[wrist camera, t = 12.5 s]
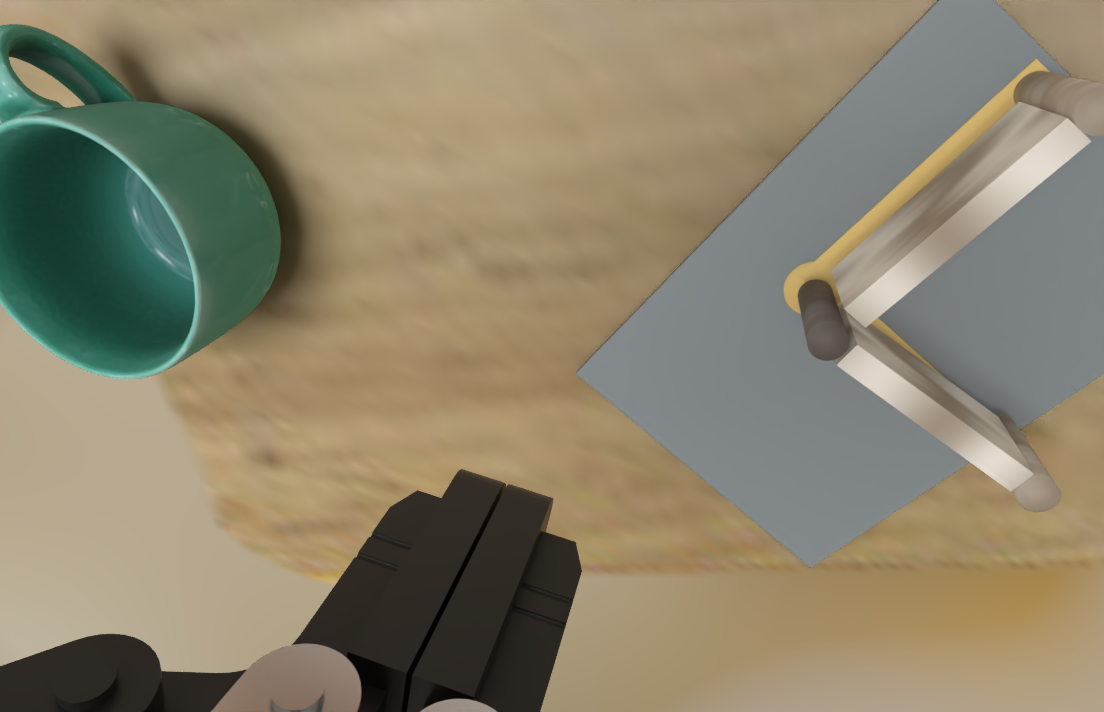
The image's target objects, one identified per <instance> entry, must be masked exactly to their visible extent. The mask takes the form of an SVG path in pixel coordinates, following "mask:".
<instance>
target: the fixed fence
mask: <svg viewBox="0 0 1104 712" xmlns="http://www.w3.org/2000/svg"><path fill="white" fill-rule="evenodd" d="M1013 99H1014V102H1015V104H1016V105H1015V106H1014V107H1013V108H1011V109H1010V110H1009V111H1008V112H1007V113H1006V114H1005V115H1004V116H1003V117H1001V118H1000V119H999V120H998V121H997V122H996V123H995V124H994V125H993V126H991V127H990V128H989V129H988V130H987V131H986V132H985V133H984V134H982V135H981V136H980V137H979V138H978V139H977V140H976V141H975V142H974V143H972V144H971V145H970V146H969V147H968V148H967V149H966V150H965V151H963V152H962V153H961V154H960V155H959V156H958V157H957V158H956V159H955V160H953V161H952V162H951V163H950V164H949V165H948V166H947V167H946V168H945V169H943V170H942V171H941V172H940V173H939V174H938V175H937V176H936V177H934V178H933V179H932V180H931V181H930V182H929V183H928V184H927V185H926V186H924V187H923V188H922V189H921V190H920V191H919V192H918V193H917V194H915V195H914V196H913V197H912V198H911V199H910V200H909V201H908V202H907V203H905V204H904V205H903V206H902V207H901V208H900V209H899V210H898V211H896V212H895V213H894V214H893V215H892V216H891V217H890V218H889V219H888V220H886V221H885V222H884V223H883V224H882V225H881V226H880V227H879V228H878V229H876V230H875V231H874V232H873V233H872V234H871V235H870V236H869V237H867V238H866V239H865V240H864V241H863V242H862V243H861V244H860V245H859V246H857V247H856V248H855V249H854V250H853V251H852V252H851V253H850V254H848V255H847V256H846V257H845V258H844V259H843V260H842V261H841V262H840V263H838V264H837V265H836V266H835V267H834V268H833V269H832V270H831V273H832V276H833V279H834V282H835V285H836V287H837V290H838V293H839V296H840V299H841V302H842V305H843V307H844V309H845V310H846V311H847V312H848V313H849V314H850V315H851V316H853V317H854V318H855V319H856V320H857V321H858V322H859V323H860V324H862V325H863V326H864V327H865V328H866V327H867V326H868V325H870V324H871V323H872V322H873V321H874V320H876V319H877V318H878V317H879V316H880V315H882V314H883V313H884V312H885V311H886V310H888V309H889V308H890V307H891V306H893V305H894V304H895V303H896V302H897V301H899V300H900V299H901V298H902V297H903V296H905V295H906V294H907V293H908V292H910V291H911V290H912V289H913V288H914V287H916V286H917V285H918V284H919V283H920V282H922V281H923V280H924V279H925V278H926V277H928V276H929V275H930V274H931V273H933V272H934V271H935V270H936V269H937V268H939V267H940V266H941V265H942V264H943V263H945V262H946V261H947V260H948V259H950V258H951V257H952V256H953V255H954V254H956V253H957V252H958V251H959V250H960V249H962V248H963V247H964V246H965V245H967V244H968V243H969V242H970V241H971V240H973V239H974V238H975V237H976V236H977V235H979V234H980V233H981V232H982V231H983V230H985V229H986V228H987V227H988V226H990V225H991V224H992V223H993V222H994V221H996V220H997V219H998V218H999V217H1000V216H1002V215H1003V214H1004V213H1005V212H1007V211H1008V210H1009V209H1010V208H1011V207H1013V206H1014V205H1015V204H1016V203H1017V202H1019V201H1020V200H1021V199H1022V198H1023V197H1025V196H1026V195H1027V194H1028V193H1030V192H1031V191H1032V190H1033V189H1034V188H1036V187H1037V186H1038V185H1039V184H1040V183H1042V182H1043V181H1044V180H1045V179H1047V178H1048V177H1049V176H1050V175H1051V174H1053V173H1054V172H1055V171H1056V170H1057V169H1059V168H1060V167H1061V166H1062V165H1064V164H1065V163H1066V162H1067V161H1068V160H1070V159H1071V158H1072V157H1073V156H1074V155H1076V154H1077V153H1078V152H1079V151H1080V150H1082V149H1083V148H1084V147H1085V146H1087V145H1088V144H1089V143H1090V142H1091V140H1090V139H1089V138H1088V137H1087V136H1086V135H1085V134H1088V135H1091V136H1104V84H1103V83H1098V82H1094V81H1089V80H1084V79H1080V78H1075V77H1070V76H1065V75H1061V74H1056V73H1051V72H1047V71H1035V72H1032V73H1029V74H1027V75H1026V76H1024V77H1023V78H1022V79H1021V80H1020V81H1019V82H1018V84H1017V85H1016V87H1015V90H1014V93H1013ZM1082 132H1083V133H1082ZM1084 133H1085V134H1084Z"/></svg>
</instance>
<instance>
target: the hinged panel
mask: <svg viewBox="0 0 1104 712" xmlns="http://www.w3.org/2000/svg"><path fill="white" fill-rule="evenodd" d="M798 302H799V307H800V311H801V316H802V321H803V326H804V331H805V336H806V341H807V346H808V349H809V351H810V353H811V354H812V355H813V356H814V357H815V358H817V359H820V360H824V361H831V360H835V362H836V365H837V366H838V367H839V368H841V369H842V370H844V371H845V372H846V373H848V374H849V375H851V376H852V377H853V378H855V379H856V380H857V381H859V382H860V383H862V384H863V385H864V386H866V387H867V388H868V389H870V390H871V391H873V392H874V393H875V394H877V395H878V396H879V397H881V398H882V399H884V400H885V401H886V402H888V403H889V404H891V405H892V406H893V407H895V408H896V409H897V410H899V411H900V412H902V413H903V414H904V415H906V416H907V417H908V418H910V419H911V420H913V421H914V422H915V423H917V424H918V425H919V426H921V427H922V428H924V429H925V430H926V431H928V432H929V433H931V434H932V435H933V436H935V437H936V438H937V439H939V440H940V441H942V442H943V443H944V444H946V445H947V446H948V447H950V448H951V449H953V450H954V451H955V452H957V453H958V454H959V455H961V456H962V457H964V458H965V459H966V460H968V461H969V462H970V463H972V464H973V465H975V466H976V467H977V468H979V469H980V470H982V471H983V472H984V473H986V474H987V475H988V476H990V477H991V478H993V479H994V480H995V481H997V482H998V483H999V484H1001V485H1002V486H1004V487H1005V488H1006V489H1008V490H1009V491H1010V492H1011V491H1012V492H1013V494H1014V496H1015V498H1016V499H1017V501H1018V503H1019V505H1020V506H1021V507H1022V508H1024V509H1026V510H1028V511H1032V512H1042V511H1046V510H1049V509H1051V508H1053V507H1054V506H1055V505H1056V504H1057V503H1058V502H1059V500H1060V498H1061V492H1060V489H1059V488H1058V486H1057V485H1056V483H1055V482H1054V480H1053V479H1052V477H1051V476H1050V474H1049V473H1048V471H1047V470H1046V468H1045V467H1044V465H1043V464H1042V462H1041V461H1040V459H1039V458H1038V456H1037V455H1036V453H1035V452H1034V450H1033V449H1032V447H1031V446H1030V444H1029V443H1028V441H1027V440H1026V438H1025V437H1024V435H1023V434H1022V432H1021V431H1020V429H1019V428H1018V426H1017V425H1016V423H1015V422H1014V420H1013V419H1012V418H1011V417H1009V416H1007V415H1004V414H994V413H992V412H991V411H990V410H988V409H987V408H986V407H984V406H983V405H981V404H980V403H979V402H977V401H976V400H975V399H973V398H972V397H971V396H969V395H968V394H966V393H965V392H964V391H962V390H961V389H960V388H958V387H957V386H956V385H954V384H953V383H951V382H950V381H949V380H947V379H946V378H945V377H943V376H942V375H941V374H939V373H938V372H936V371H935V370H934V369H932V368H931V367H930V366H928V365H927V364H926V363H924V362H923V361H921V360H920V359H919V358H917V357H916V356H915V355H913V354H912V353H911V352H909V351H908V350H906V349H905V348H904V347H902V346H901V345H900V344H898V343H897V342H896V341H894V340H893V339H891V338H890V337H889V336H887V335H886V334H885V333H883V332H882V331H881V330H879V329H878V328H876V327H875V326H874V325H872V324H870V325H868V326H867V327H866V328H865V327H864V326H863V325H862V324H860V323H859V322H858V321H857V320H856V319H855V318H854V317H853V316H851V315H850V314H849V313H848V312H847V311H846V310H845V309H844V307H843V305H842V304H841V305H840V306H839V307H838V305H837V302H836V299H835V296H834V293H833V290H832V288H831V286H830V285H829V284H828V283H827V282H825V281H823V280H819V279H814V280H810V281H807V282H806V283H804V284H803V285H802V286H801V287H800V289H799V291H798Z"/></svg>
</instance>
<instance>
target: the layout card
mask: <svg viewBox="0 0 1104 712" xmlns="http://www.w3.org/2000/svg"><path fill="white" fill-rule="evenodd" d="M1035 71H1047V72H1051V73H1056V74H1061V75H1065V76H1070V75H1069V74H1068V73H1067V72H1066V71H1065V70H1064V69H1063V68H1062V67H1061V66H1060V65H1059V64H1058V63H1057V62H1056V61H1055V60H1054V59H1053V58H1052V57H1051V56H1050V55H1049V54H1048V53H1047V52H1046V51H1045V50H1044V49H1043V48H1042V47H1041V46H1040V45H1039V44H1038V43H1037V42H1036V41H1035V40H1034V39H1033V38H1032V37H1031V36H1030V35H1029V34H1028V33H1027V32H1026V31H1025V30H1024V29H1023V28H1022V27H1021V26H1020V25H1019V24H1018V23H1017V22H1016V21H1015V20H1013V19H1012V18H1011V17H1010V16H1009V15H1008V14H1007V13H1006V12H1005V11H1004V10H1003V9H1002V8H1001V7H1000V6H999V5H998V4H997V3H996V2H995V1H994V0H938V1H937V2H936V3H935V4H934V5H933V6H932V7H931V8H930V9H929V10H928V11H927V12H926V13H925V14H924V15H923V16H922V17H921V18H920V19H919V20H918V21H917V22H916V23H915V24H914V25H913V26H912V27H911V28H910V29H909V30H908V31H907V32H906V33H905V35H904V36H903V37H902V38H901V39H900V40H899V41H898V42H897V43H896V44H895V45H894V46H893V47H892V48H891V49H890V50H889V51H888V52H887V53H886V54H885V55H884V56H883V57H882V58H881V59H880V60H879V61H878V62H877V63H876V64H875V65H874V66H873V67H872V68H871V69H870V70H869V72H868V73H867V74H866V75H865V76H864V77H863V78H862V79H861V80H860V81H859V82H858V83H857V84H856V85H855V86H854V87H853V88H852V89H851V90H850V91H849V92H848V93H847V94H846V95H845V96H844V97H843V98H842V99H841V100H840V101H839V102H838V103H837V104H836V105H835V106H834V107H833V109H832V110H831V111H830V112H829V113H828V114H827V115H826V116H825V117H824V118H823V119H822V120H821V121H820V122H819V123H818V124H817V125H816V126H815V127H814V128H813V129H812V130H811V131H810V132H809V133H808V134H807V135H806V136H805V137H804V138H803V139H802V140H801V141H800V142H799V143H798V144H797V145H796V147H795V148H794V149H793V150H792V151H791V152H790V153H789V154H788V155H787V156H786V157H785V158H784V159H783V160H782V161H781V162H780V163H779V164H778V165H777V166H776V167H775V168H774V169H773V170H772V171H771V172H770V173H769V174H768V175H767V176H766V177H765V178H764V179H763V180H762V181H761V182H760V184H759V185H758V186H757V187H756V188H755V189H754V190H753V191H752V192H751V193H750V194H749V195H748V196H747V197H746V198H745V199H744V200H743V201H742V202H741V203H740V204H739V205H738V206H737V207H736V208H735V209H734V210H733V211H732V212H731V213H730V214H729V215H728V216H727V217H726V218H725V219H724V221H723V222H722V223H721V224H720V225H719V226H718V227H717V228H716V229H715V230H714V231H713V232H712V233H711V234H710V235H709V236H708V237H707V238H706V239H705V240H704V241H703V242H702V243H701V244H700V245H699V246H698V247H697V248H696V249H695V250H694V251H693V252H692V253H691V254H690V255H689V256H688V258H687V259H686V260H685V261H684V262H683V263H682V264H681V265H680V266H679V267H678V268H677V269H676V270H675V271H674V272H673V273H672V274H671V275H670V276H669V277H668V278H667V279H666V280H665V281H664V282H663V283H662V284H661V285H660V286H659V287H658V288H657V289H656V290H655V291H654V292H653V293H652V295H651V296H650V297H649V298H648V299H647V300H646V301H645V302H644V303H643V304H642V305H641V306H640V307H639V308H638V309H637V310H636V311H635V312H634V313H633V314H632V315H631V316H630V317H629V318H628V319H627V320H626V321H625V322H624V323H623V324H622V325H621V326H620V327H619V328H618V329H617V330H616V331H615V333H614V334H613V335H612V336H611V337H610V338H609V339H608V340H607V341H606V342H605V343H604V344H603V345H602V346H601V347H600V348H599V349H598V350H597V351H596V352H595V353H594V354H593V355H592V356H591V357H590V358H589V359H588V360H587V361H586V362H585V363H584V364H583V365H582V366H581V367H580V368H579V370H578V371H577V372H576V374H577V375H578V376H579V377H580V378H582V379H583V380H584V381H585V382H586V383H588V384H589V385H590V386H591V387H592V388H594V389H595V390H596V391H597V392H598V393H600V394H601V395H602V396H603V397H605V398H606V399H607V400H608V401H609V402H611V403H612V404H613V405H614V406H615V407H617V408H618V409H619V410H620V411H621V412H623V413H624V414H625V415H626V416H627V417H629V418H630V419H631V420H632V421H633V422H635V423H636V424H637V425H638V426H639V427H641V428H642V429H643V430H644V431H646V432H647V433H648V434H649V435H650V436H652V437H653V438H654V439H655V440H656V441H658V442H659V443H660V444H661V445H662V446H664V447H665V448H666V449H667V450H668V451H670V452H671V453H672V454H673V455H674V456H676V457H677V458H678V459H679V460H680V461H682V462H683V463H684V464H685V465H686V466H688V467H689V468H690V469H691V470H693V471H694V472H695V473H696V474H697V475H699V476H700V477H701V478H702V479H703V480H705V481H706V482H707V483H708V484H709V485H711V486H712V487H713V488H714V489H715V490H717V491H718V492H719V493H720V494H721V495H723V496H724V497H725V498H726V499H727V500H729V501H730V502H731V503H732V504H734V505H735V506H736V507H737V508H738V509H740V510H741V511H742V512H743V513H744V514H746V515H747V516H748V517H749V518H750V519H752V520H753V521H754V522H755V523H756V524H758V525H759V526H760V527H761V528H762V529H764V530H765V531H766V532H767V533H768V534H770V535H771V536H772V537H773V538H774V539H776V540H777V541H778V542H779V543H781V544H782V545H783V546H784V547H785V548H787V549H788V550H789V551H790V552H791V553H793V554H794V555H795V556H796V557H797V558H799V559H800V560H801V561H802V562H803V563H805V564H806V565H807V566H808V567H809V568H811V567H812V566H814V565H816V564H817V563H819V562H820V561H822V560H823V559H825V558H826V557H828V556H829V555H831V554H832V553H834V552H835V551H837V550H838V549H840V548H841V547H843V546H844V545H846V544H847V543H849V542H850V541H852V540H853V539H855V538H856V537H858V536H859V535H861V534H862V533H864V532H865V531H867V530H868V529H870V528H871V527H873V526H874V525H876V524H877V523H879V522H880V521H882V520H884V519H885V518H887V517H888V516H890V515H891V514H893V513H894V512H896V511H897V510H899V509H900V508H902V507H903V506H905V505H906V504H908V503H909V502H911V501H912V500H914V499H915V498H917V497H918V496H920V495H921V494H923V493H924V492H926V491H927V490H929V489H930V488H932V487H933V486H935V485H936V484H938V483H939V482H941V481H942V480H944V479H945V478H947V477H948V476H950V475H952V474H953V473H955V472H956V471H958V470H959V469H961V468H962V467H964V466H965V465H967V464H968V463H970V462H969V461H968V460H966V459H965V458H964V457H962V456H961V455H959V454H958V453H957V452H955V451H954V450H953V449H951V448H950V447H948V446H947V445H946V444H944V443H943V442H942V441H940V440H939V439H937V438H936V437H935V436H933V435H932V434H931V433H929V432H928V431H926V430H925V429H924V428H922V427H921V426H919V425H918V424H917V423H915V422H914V421H913V420H911V419H910V418H908V417H907V416H906V415H904V414H903V413H902V412H900V411H899V410H897V409H896V408H895V407H893V406H892V405H891V404H889V403H888V402H886V401H885V400H884V399H882V398H881V397H879V396H878V395H877V394H875V393H874V392H873V391H871V390H870V389H868V388H867V387H866V386H864V385H863V384H862V383H860V382H859V381H857V380H856V379H855V378H853V377H852V376H851V375H849V374H848V373H846V372H845V371H844V370H842V369H841V368H839V367H838V366H837V365H836V362H835V360H831V361H824V360H820V359H817V358H815V357H814V356H813V355H812V354H811V353H810V351H809V349H808V346H807V341H806V336H805V331H804V326H803V321H802V316H801V311H800V307H799V302H798V291H799V289H800V287H801V286H802V285H803V284H804V283H806V282H807V281H810V280H814V279H819V280H823V281H825V282H827V283H828V284H829V285H830V286H831V288H832V290H833V293H834V296H835V299H836V302H837V305H838V307H839V306H840V305H841V304H842V302H841V299H840V296H839V293H838V290H837V287H836V285H835V282H834V279H833V276H832V273H831V270H832V269H833V268H834V267H835V266H836V265H837V264H838V263H840V262H841V261H842V260H843V259H844V258H845V257H846V256H847V255H848V254H850V253H851V252H852V251H853V250H854V249H855V248H856V247H857V246H859V245H860V244H861V243H862V242H863V241H864V240H865V239H866V238H867V237H869V236H870V235H871V234H872V233H873V232H874V231H875V230H876V229H878V228H879V227H880V226H881V225H882V224H883V223H884V222H885V221H886V220H888V219H889V218H890V217H891V216H892V215H893V214H894V213H895V212H896V211H898V210H899V209H900V208H901V207H902V206H903V205H904V204H905V203H907V202H908V201H909V200H910V199H911V198H912V197H913V196H914V195H915V194H917V193H918V192H919V191H920V190H921V189H922V188H923V187H924V186H926V185H927V184H928V183H929V182H930V181H931V180H932V179H933V178H934V177H936V176H937V175H938V174H939V173H940V172H941V171H942V170H943V169H945V168H946V167H947V166H948V165H949V164H950V163H951V162H952V161H953V160H955V159H956V158H957V157H958V156H959V155H960V154H961V153H962V152H963V151H965V150H966V149H967V148H968V147H969V146H970V145H971V144H972V143H974V142H975V141H976V140H977V139H978V138H979V137H980V136H981V135H982V134H984V133H985V132H986V131H987V130H988V129H989V128H990V127H991V126H993V125H994V124H995V123H996V122H997V121H998V120H999V119H1000V118H1001V117H1003V116H1004V115H1005V114H1006V113H1007V112H1008V111H1009V110H1010V109H1011V108H1013V107H1014V106H1015V105H1016V104H1015V102H1014V99H1013V93H1014V90H1015V87H1016V85H1017V84H1018V82H1019V81H1020V80H1021V79H1022V78H1023V77H1024V76H1026V75H1027V74H1029V73H1032V72H1035ZM1070 77H1071V76H1070ZM1082 133H1083V132H1082ZM1084 134H1085V133H1084ZM1085 135H1086V136H1087V137H1088V138H1089V139H1090V140H1091V142H1090V143H1089V144H1088V145H1087V146H1085V147H1084V148H1083V149H1082V150H1080V151H1079V152H1078V153H1077V154H1076V155H1074V156H1073V157H1072V158H1071V159H1070V160H1068V161H1067V162H1066V163H1065V164H1064V165H1062V166H1061V167H1060V168H1059V169H1057V170H1056V171H1055V172H1054V173H1053V174H1051V175H1050V176H1049V177H1048V178H1047V179H1045V180H1044V181H1043V182H1042V183H1040V184H1039V185H1038V186H1037V187H1036V188H1034V189H1033V190H1032V191H1031V192H1030V193H1028V194H1027V195H1026V196H1025V197H1023V198H1022V199H1021V200H1020V201H1019V202H1017V203H1016V204H1015V205H1014V206H1013V207H1011V208H1010V209H1009V210H1008V211H1007V212H1005V213H1004V214H1003V215H1002V216H1000V217H999V218H998V219H997V220H996V221H994V222H993V223H992V224H991V225H990V226H988V227H987V228H986V229H985V230H983V231H982V232H981V233H980V234H979V235H977V236H976V237H975V238H974V239H973V240H971V241H970V242H969V243H968V244H967V245H965V246H964V247H963V248H962V249H960V250H959V251H958V252H957V253H956V254H954V255H953V256H952V257H951V258H950V259H948V260H947V261H946V262H945V263H943V264H942V265H941V266H940V267H939V268H937V269H936V270H935V271H934V272H933V273H931V274H930V275H929V276H928V277H926V278H925V279H924V280H923V281H922V282H920V283H919V284H918V285H917V286H916V287H914V288H913V289H912V290H911V291H910V292H908V293H907V294H906V295H905V296H903V297H902V298H901V299H900V300H899V301H897V302H896V303H895V304H894V305H893V306H891V307H890V308H889V309H888V310H886V311H885V312H884V313H883V314H882V315H880V316H879V317H878V318H877V319H876V320H874V321H873V322H872V323H871V324H872V325H874V326H875V327H876V328H878V329H879V330H881V331H882V332H883V333H885V334H886V335H887V336H889V337H890V338H891V339H893V340H894V341H896V342H897V343H898V344H900V345H901V346H902V347H904V348H905V349H906V350H908V351H909V352H911V353H912V354H913V355H915V356H916V357H917V358H919V359H920V360H921V361H923V362H924V363H926V364H927V365H928V366H930V367H931V368H932V369H934V370H935V371H936V372H938V373H939V374H941V375H942V376H943V377H945V378H946V379H947V380H949V381H950V382H951V383H953V384H954V385H956V386H957V387H958V388H960V389H961V390H962V391H964V392H965V393H966V394H968V395H969V396H971V397H972V398H973V399H975V400H976V401H977V402H979V403H980V404H981V405H983V406H984V407H986V408H987V409H988V410H990V411H991V412H992V413H994V414H1004V415H1007V416H1009V417H1011V418H1012V419H1013V420H1014V422H1015V423H1016V425H1017V426H1018V428H1019V429H1021V428H1023V427H1024V426H1026V425H1027V424H1029V423H1030V422H1032V421H1033V420H1035V419H1036V418H1038V417H1039V416H1041V415H1042V414H1044V413H1045V412H1047V411H1048V410H1050V409H1051V408H1053V407H1054V406H1056V405H1057V404H1059V403H1060V402H1062V401H1063V400H1065V399H1066V398H1068V397H1069V396H1071V395H1072V394H1074V393H1075V392H1077V391H1078V390H1080V389H1081V388H1083V387H1084V386H1086V385H1088V384H1089V383H1091V382H1092V381H1094V380H1095V379H1097V378H1098V377H1100V376H1101V375H1103V374H1104V136H1091V135H1088V134H1085Z"/></svg>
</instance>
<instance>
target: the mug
mask: <svg viewBox="0 0 1104 712" xmlns="http://www.w3.org/2000/svg"><path fill="white" fill-rule="evenodd" d="M9 57H14V58H17V59H20V60H23V61H25V62H28V63H30V64H32V65H34V66H36V67H37V68H39V69H41V70H43V71H45V72H46V73H48V74H49V75H51V76H53V77H54V78H55V79H57V80H58V81H59V82H61V83H62V84H63V85H64V86H66V87H67V88H68V89H69V90H70V91H72V92H73V93H74V94H75V95H76V96H77V97H78V98H79V99H80V100H81V101H82V102H83V103H84V104H85V105H84V106H77V107H71V108H65V107H63V106H62V105H61V104H60V103H58V102H56V101H53V100H49V99H46V98H43V97H41V96H39V95H37V94H36V93H34V92H33V91H31V90H30V89H28V88H27V87H26V86H25V85H24V84H23V83H22V82H21V81H20V79H19V78H18V77H17V75H16V74H15V72H14V71H13V69H12V67H11V65H10V61H9ZM0 120H1V121H2V123H1V124H0V304H1V305H2V306H3V308H4V309H5V310H6V312H7V313H8V314H9V315H10V316H11V317H12V319H13V320H14V321H15V322H16V323H17V324H18V325H19V326H20V327H21V328H22V329H23V330H24V331H25V332H26V333H27V334H28V335H29V336H31V337H32V338H33V339H34V340H35V341H36V342H38V343H39V344H40V345H42V346H43V347H44V348H46V349H47V350H48V351H50V352H52V353H53V354H54V355H56V356H57V357H59V358H61V359H62V360H64V361H66V362H68V363H70V364H72V365H74V366H76V367H78V368H81V369H83V370H86V371H88V372H91V373H94V374H97V375H101V376H105V377H111V378H117V379H138V378H144V377H149V376H153V375H156V374H159V373H161V372H163V371H165V370H167V369H169V368H171V367H173V366H175V365H177V364H178V363H180V362H181V361H183V360H185V359H186V358H188V357H190V356H191V355H193V354H194V353H196V352H198V351H199V350H201V349H202V348H204V347H205V346H207V345H208V344H210V343H211V342H213V341H214V340H216V339H217V338H219V337H220V336H222V335H223V334H225V333H226V332H227V331H229V330H230V329H231V328H233V327H234V326H235V325H237V324H238V323H239V322H241V321H242V320H243V319H244V318H246V317H247V316H248V315H249V314H250V313H251V312H252V311H253V310H254V309H255V308H256V307H257V306H258V304H259V303H260V302H261V301H262V300H263V298H264V297H265V295H266V294H267V292H268V290H269V288H270V286H271V285H272V282H273V280H274V278H275V275H276V272H277V268H278V264H279V259H280V251H281V233H280V224H279V218H278V214H277V210H276V207H275V204H274V201H273V198H272V195H271V193H270V190H269V188H268V186H267V184H266V182H265V180H264V179H263V177H262V175H261V174H260V172H259V170H258V169H257V167H256V166H255V164H254V163H253V162H252V160H251V159H250V158H249V157H248V155H247V154H246V153H245V152H244V151H243V150H242V149H241V148H240V147H239V146H238V145H237V144H236V143H235V142H234V141H233V140H232V139H231V138H230V137H229V136H228V135H227V134H225V133H224V132H223V131H221V130H220V129H219V128H217V127H216V126H215V125H213V124H211V123H210V122H208V121H207V120H205V119H203V118H201V117H199V116H197V115H195V114H193V113H191V112H188V111H186V110H183V109H180V108H177V107H173V106H170V105H165V104H160V103H154V102H143V101H137V100H136V99H135V98H134V97H133V96H132V95H131V94H130V93H129V92H128V90H127V89H126V88H125V87H124V86H123V85H122V84H121V83H120V82H119V81H117V80H116V79H115V78H114V77H113V76H112V75H111V74H109V73H108V72H107V71H106V70H105V69H104V68H102V67H101V66H100V65H99V64H97V63H96V62H95V61H93V60H92V59H91V58H90V57H88V56H87V55H86V54H84V53H83V52H81V51H80V50H78V49H77V48H75V47H74V46H72V45H71V44H69V43H68V42H66V41H64V40H62V39H60V38H58V37H57V36H55V35H52V34H50V33H48V32H46V31H43V30H41V29H38V28H35V27H31V26H27V25H12V24H10V25H2V26H0Z"/></svg>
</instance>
